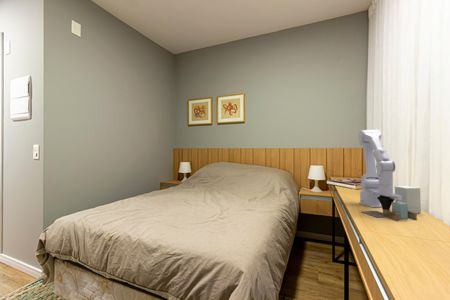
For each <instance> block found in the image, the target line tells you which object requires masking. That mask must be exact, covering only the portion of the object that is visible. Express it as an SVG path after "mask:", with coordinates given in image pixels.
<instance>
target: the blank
mask: <svg viewBox="0 0 450 300" xmlns="http://www.w3.org/2000/svg"><path fill="white" fill-rule="evenodd" d="M391 212H395V213H398V214H400V220H409V218H408V204H407V203H402V202H395V201H393V202H392V204H391Z"/></svg>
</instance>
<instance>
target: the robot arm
mask: <svg viewBox="0 0 450 300" xmlns="http://www.w3.org/2000/svg"><path fill="white" fill-rule="evenodd" d="M358 133H359V134H358V141H359V145H361V147H362V149H363V156H364V157H363V158H364V164H365V172H366V173H364V174H362V175H361V177H360V178H361V179H360V180H361V181H360V186H361V188H362V189H361V190H360V192H359V197H360V198H359V200H360V201H359V204H360V205H364V206H367V207H369V208H370V207H371V208H382V211H383V210H384V209H389V210H390V211H391V208H392V202H395V199H397V200H402V196H400V195H396V194H395V193H394V175H393V173H394V172H395V171H396V164H395V161H394V160H393V159H392V158H390V157H389V155H388V152H387V151H386V149H384V148H383V146H382V144H381V138H382V136H383V135H382V131H381V130H380V129H360V130H359V132H358Z"/></svg>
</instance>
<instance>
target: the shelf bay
mask: <svg viewBox="0 0 450 300" xmlns="http://www.w3.org/2000/svg"><path fill="white" fill-rule="evenodd" d="M382 213H383V215H384V216H387V217H386V218H389V219H391V220H395V221H398V222H400V221H401V219H400V214H398V213H395V212H392V210H391V209H390V210H389V209H384V210H383V209H382ZM417 214H418V213H415V212H411V211H408V219H411V220H414V221H415V220H417V219H418V215H417Z"/></svg>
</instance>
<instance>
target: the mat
mask: <svg viewBox="0 0 450 300" xmlns="http://www.w3.org/2000/svg"><path fill="white" fill-rule="evenodd" d="M360 212H361V213H362V214H364V215H367V216H370V217H373V218H377V219H378V218H379V219H380V218H388V217H387V216H384V215H383V211H378V210H367V211H366V210H365V211H364V210H363V211H360Z"/></svg>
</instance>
